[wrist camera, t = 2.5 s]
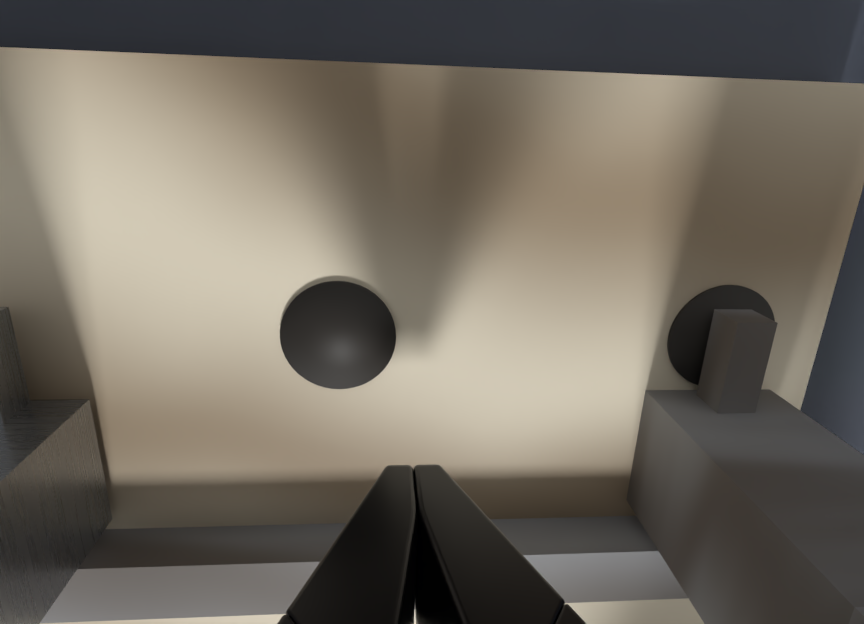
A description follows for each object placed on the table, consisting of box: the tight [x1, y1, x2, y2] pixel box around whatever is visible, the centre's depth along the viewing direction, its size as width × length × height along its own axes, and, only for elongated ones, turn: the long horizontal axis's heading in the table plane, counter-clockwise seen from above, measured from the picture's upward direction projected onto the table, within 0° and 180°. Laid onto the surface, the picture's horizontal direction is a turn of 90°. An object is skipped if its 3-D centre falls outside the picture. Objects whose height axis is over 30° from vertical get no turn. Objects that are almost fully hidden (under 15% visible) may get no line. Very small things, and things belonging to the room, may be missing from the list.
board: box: [0, 47, 864, 624], centre depth 8 cm, size 14×25×7 cm, turn 88°
